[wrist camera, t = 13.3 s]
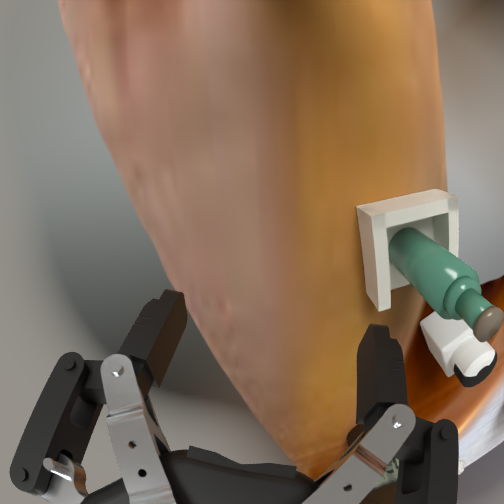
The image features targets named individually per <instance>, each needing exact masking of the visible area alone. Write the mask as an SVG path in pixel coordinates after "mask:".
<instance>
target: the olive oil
mask: <svg viewBox="0 0 504 504" xmlns="http://www.w3.org/2000/svg"><path fill="white" fill-rule="evenodd" d="M363 431H364V424H359V425H357V426H356V427H355V428H353V429H352V430H351V431H350V432H349V434H348V436H347V441H348V446H349V447H350V446H351V445H352V444H353V442H354V441H355V440H356V439H357V438H358V437H359V436H360V435H361V433H362V432H363ZM398 467H399V459H396V458H392V460H391V461H390V462H389V463H388V465H387V466H386V468H385V469H386V472H385V474H384V475H383V477H382V478H381V479H380V480H379V482H378V483H377V484H376V485H375V486H374V487H373V489H372V490H371V491H370V492H369V493H368V494H367V495H366V497H365V498H364V499H363V500H362V501H361V502H360V503H359V504H394V501H395V494H396V486H397V477H398Z"/></svg>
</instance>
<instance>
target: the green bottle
mask: <svg viewBox="0 0 504 504" xmlns="http://www.w3.org/2000/svg"><path fill="white" fill-rule="evenodd" d="M388 254H389V261H390V263H391V264H392V265H393V266H394V267H395V268H396V269H397V270H398V271H399V272H400V273H401V274H402V275H403V277H404V278H405V279H406V280H407V281H408V282H409V283H410V284H411V285H412V286H413V287H414V288H415V289H416V290H417V291H418V293H419V294H420V295H421V296H422V297H423V298H424V299H425V300H426V301H427V302H428V304H429V305H430V306H431V307H432V308H433V309H434V310H435V311H436V313H437V314H438V315H439V316H440V317H441V318H443V319H446V320H450V319H454V320H462V319H463V321H464V322H465V323H466V324H467V325H468V326H469V327H470V328H471V329H472V330H473V335H474V336H475V338H476V339H477V340H478V341H479V342H486V341H488V340H489V339H491V338H492V337H493V336H494V335H495V334H496V332H497V331H498V330H499V328H500V326H501V324H502V322H503V317H504V314H503V311H502V310H501V309H499V308H498V307H497V306H496V305H491V304H490V303H489V302H488V301H487V300H486V299H485V298H484V297H483V296H482V295H481V287H480V285H479V277H478V275H477V273H476V271H475V270H473V269H472V268H471V267H469V266H468V265H467V264H465V263H464V262H463V261H461V260H460V259H459V258H457V257H456V256H455V255H453V254H452V253H451V252H449V251H448V250H446V249H445V248H444V247H442V246H441V245H439V244H438V243H436V242H435V241H434V240H432V239H431V238H429V237H428V236H426V235H425V234H423V233H422V232H420V231H419V230H417V229H416V228H413V227H407V228H403V229H401V230H399V231H398V232H397V233H396V234H395V235H394V236H393V237H392V239H391V241H390V243H389V246H388Z"/></svg>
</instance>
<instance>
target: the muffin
mask: <svg viewBox="0 0 504 504" xmlns="http://www.w3.org/2000/svg"><path fill="white" fill-rule="evenodd" d="M464 464H465V461H464V460H463V459H462V458H460V457H459V466H458V475H459V474H460V473H462V472H463V470H464V468H463V467H464Z"/></svg>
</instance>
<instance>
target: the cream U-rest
mask: <svg viewBox="0 0 504 504" xmlns="http://www.w3.org/2000/svg"><path fill="white" fill-rule="evenodd" d="M356 210H357V217H358V223H359V231H360V238H361V246H362V255H363V264H364V274H365V285H366V293H367V295H368V296H369V298H370V299H371V301H372V302H373V304H374V305H375V307H376V308H377V310H378V311H383V310H386V309H389V308H391V294H390V290H393V289H396V288H399V287H402V286H406V285H409V284H410V283H409V282H408V281H407V280H406V279H405V278H404V277H403V275H402V274H401V273H400V272H399V271H398V270H397V269H396V268H395V267H394V266H393V265H392V264H391V263H390V261H389V254H388V246H389V243H390V241H391V239H392V237H393V236H394V235H395V234H396V233H397V232H398V231H399V230H401V229H403V228H407V227H413V228H416V229H417V230H419V231H420V232H422V233H423V234H425V235H426V236H428V237H429V238H431V239H432V240H434V241H435V242H436V243H438V244H439V245H441V246H442V247H444V248H445V249H446V250H448V251H449V252H451V253H452V254H453V255H455V256H456V257H457V258H458V249H459V248H458V247H459V246H458V245H459V218H458V217H459V215H458V197H457V196H455V195H453V194H450V193H447V192H444V191H442V190H439V189H432V190H428V191H423V192H418V193H413V194H409V195H404V196H400V197H395V198H390V199H386V200H381V201H377V202H372V203H368V204H363V205H359V206H356Z"/></svg>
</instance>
